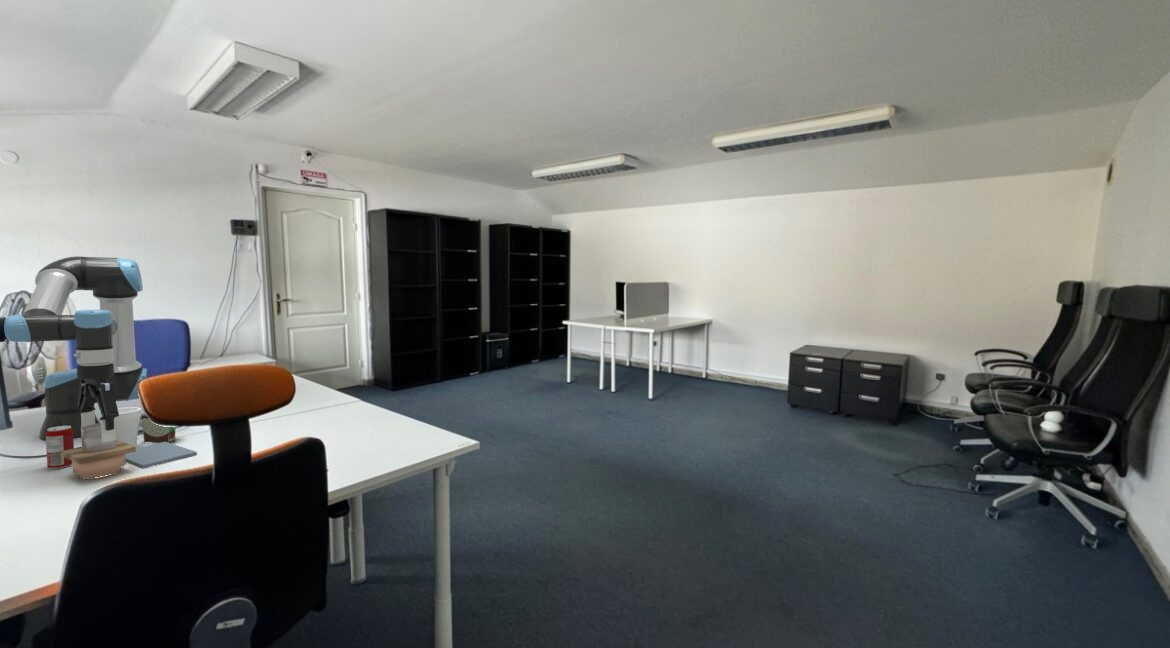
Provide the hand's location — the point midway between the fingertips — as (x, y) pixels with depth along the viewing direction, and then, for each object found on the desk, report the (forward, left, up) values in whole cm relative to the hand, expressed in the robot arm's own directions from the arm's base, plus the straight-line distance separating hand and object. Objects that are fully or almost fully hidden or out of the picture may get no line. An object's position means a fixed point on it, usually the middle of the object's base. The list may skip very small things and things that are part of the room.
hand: (98, 437), depth 141 cm
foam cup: (-21, +13, -11) cm, 27 cm away
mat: (-5, +15, -11) cm, 19 cm away
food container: (-20, +24, -11) cm, 33 cm away
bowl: (0, 0, -11) cm, 11 cm away
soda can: (-17, -3, -11) cm, 20 cm away
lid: (0, 0, -5) cm, 5 cm away
